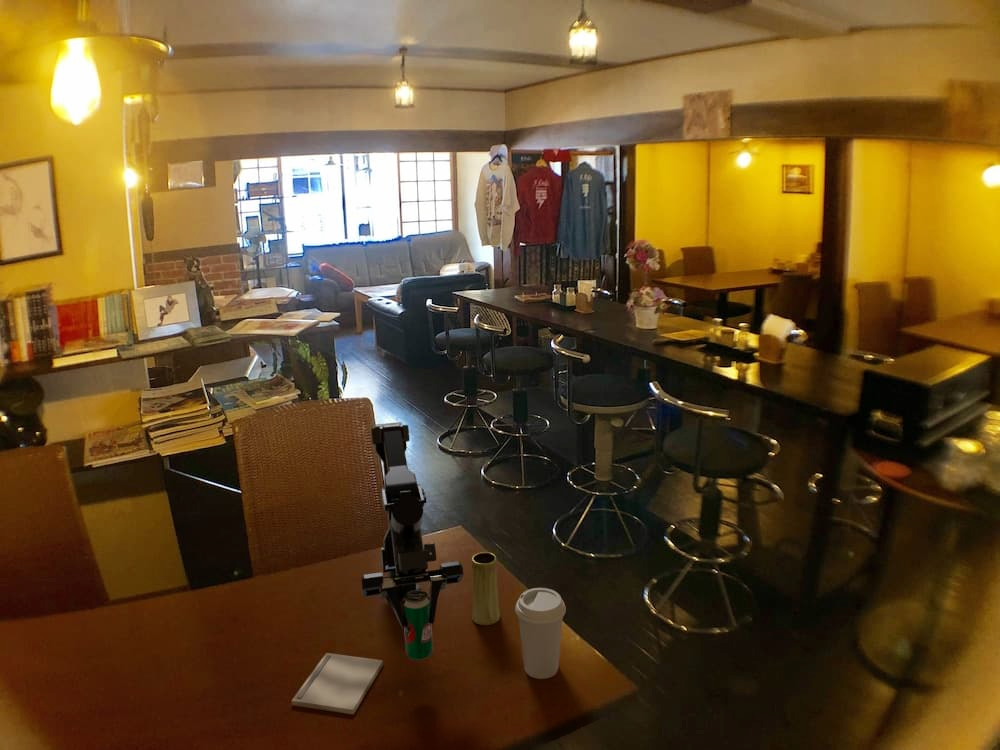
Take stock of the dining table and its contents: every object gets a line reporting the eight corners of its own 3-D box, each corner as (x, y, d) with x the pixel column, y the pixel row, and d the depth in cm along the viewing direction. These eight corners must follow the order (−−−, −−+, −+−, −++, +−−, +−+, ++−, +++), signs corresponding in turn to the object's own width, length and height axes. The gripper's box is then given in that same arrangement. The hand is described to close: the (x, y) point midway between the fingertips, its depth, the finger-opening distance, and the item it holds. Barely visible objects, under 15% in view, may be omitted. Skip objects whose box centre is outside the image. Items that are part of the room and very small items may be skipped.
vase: (501, 609, 161) (499, 551, 157) (498, 626, 155) (496, 565, 151) (473, 608, 162) (471, 550, 158) (470, 625, 156) (467, 565, 152)
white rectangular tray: (326, 657, 147) (326, 652, 146) (383, 664, 144) (382, 659, 144) (292, 705, 133) (291, 699, 133) (353, 714, 131) (352, 709, 130)
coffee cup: (536, 646, 148) (535, 580, 144) (575, 664, 142) (575, 596, 138) (506, 671, 141) (504, 602, 137) (546, 691, 135) (546, 619, 131)
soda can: (428, 663, 134) (425, 605, 131) (402, 660, 135) (398, 602, 132) (436, 646, 138) (433, 589, 135) (410, 643, 140) (407, 587, 136)
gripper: (357, 536, 132) (366, 625, 125) (459, 522, 136) (473, 607, 129) (358, 554, 141) (366, 637, 134) (454, 540, 146) (466, 621, 138)
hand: (418, 625), depth 134 cm, fingers closed on soda can, 5 cm apart
